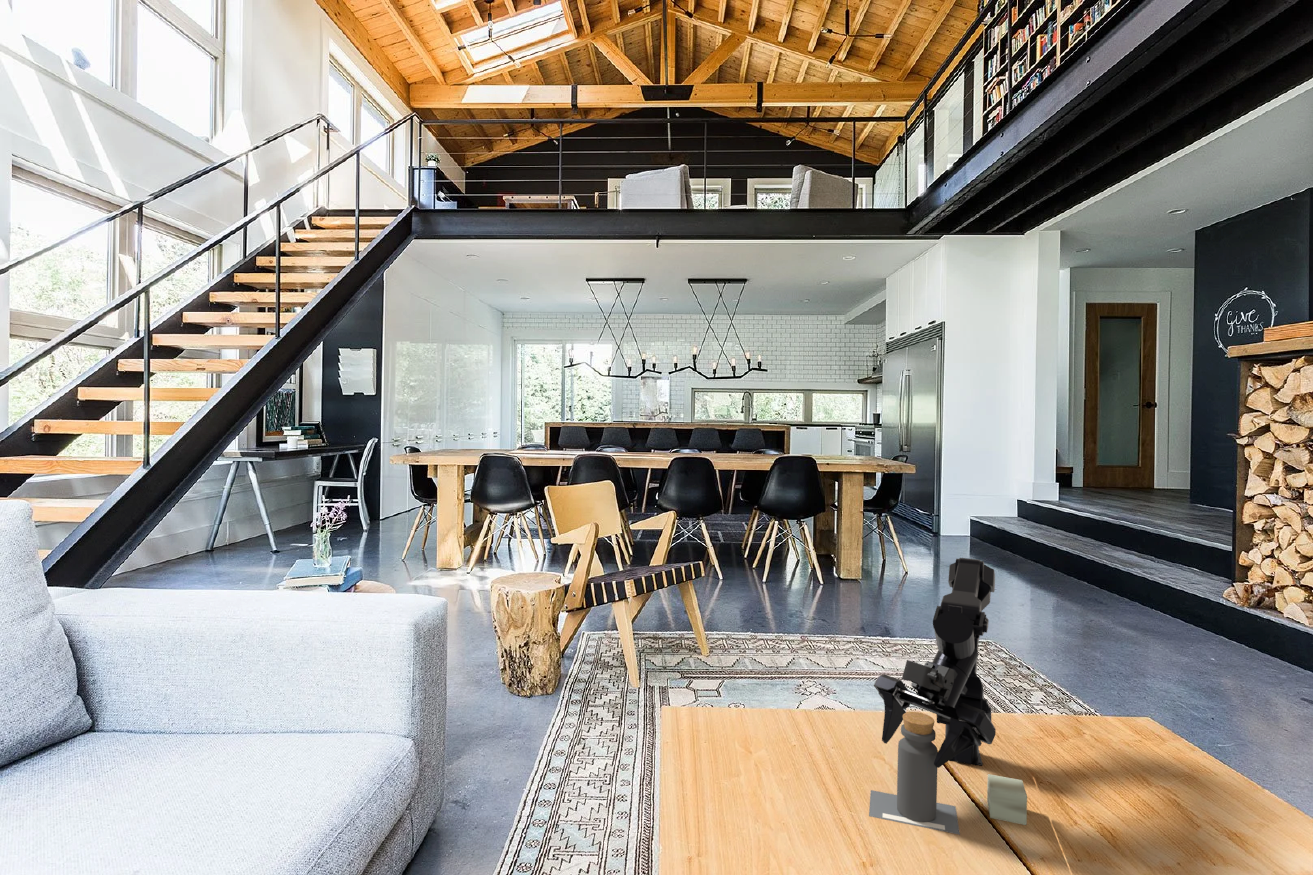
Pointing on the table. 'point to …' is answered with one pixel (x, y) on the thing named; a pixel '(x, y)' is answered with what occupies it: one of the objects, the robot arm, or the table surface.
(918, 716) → the bottle
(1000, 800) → the green block
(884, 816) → the letter tile
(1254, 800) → the table surface
